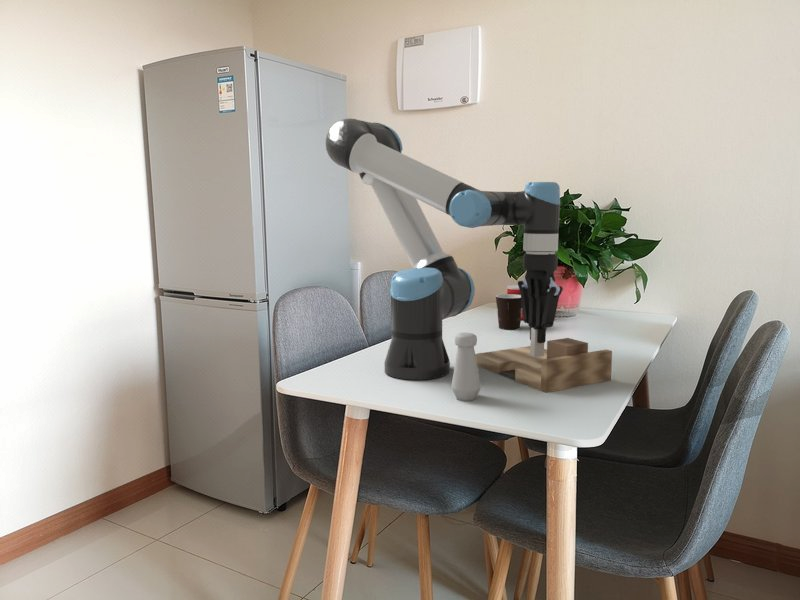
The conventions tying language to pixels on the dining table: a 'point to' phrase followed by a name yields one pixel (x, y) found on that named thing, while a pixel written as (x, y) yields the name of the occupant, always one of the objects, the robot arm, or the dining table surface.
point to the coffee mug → (509, 311)
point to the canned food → (514, 290)
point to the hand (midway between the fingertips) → (536, 355)
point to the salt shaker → (465, 368)
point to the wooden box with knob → (548, 368)
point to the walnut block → (565, 347)
